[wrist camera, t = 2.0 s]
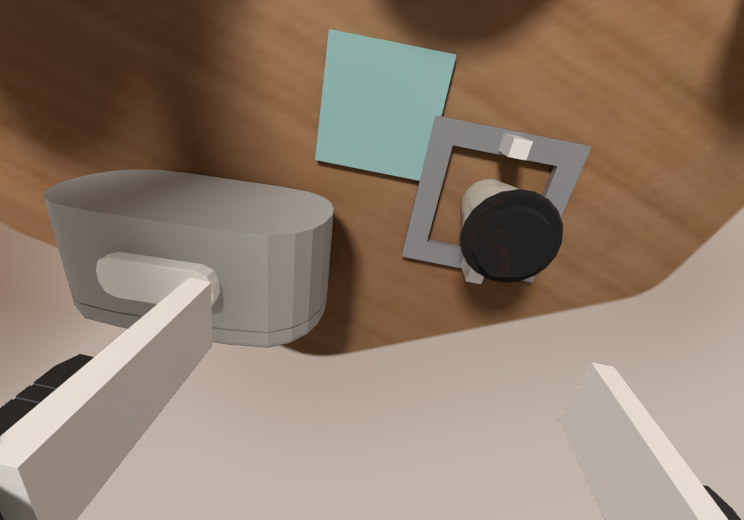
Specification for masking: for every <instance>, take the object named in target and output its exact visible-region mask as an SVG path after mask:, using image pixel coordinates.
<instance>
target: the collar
mask: <svg viewBox="0 0 744 520" xmlns="http://www.w3.org/2000/svg"><path fill="white" fill-rule="evenodd" d="M453 145H454V146H459V147H464V148H469V149H474V150H479V151H484V152H489V153H494V154H499V155H504V156H507V157H511V158H516V159H521V160H529V161H534V162H539V163H544V164H549V165H554V166H553V169H552V171H551V174H550V176H549V179H548V181H547V184H546V186H545V189H544V191H543V194H542V196H544V197H545V198H547V199H549V200H550V201H551V202H552V204H553V205H554V206H555V207H556V208H557V210H558V211H559V214H560V217H561V216H562V214H563V211H564V209H565V207H566V204H567V202H568V200H569V198H570V195H571V193H572V191H573V188H574V186H575V184H576V181H577V179H578V177H579V175H580V172H581V170H582V168H583V165H584V163H585V161H586V159H587V156H588V154H589V152H590V149H591V146H588V145H583V144H578V143H573V142H568V141H563V140H558V139H553V138H548V137H543V136H538V135H533V134H528V133H523V132H518V131H513V130H508V129H503V128H498V127H493V126H488V125H483V124H478V123H473V122H468V121H463V120H458V119H453V118H448V117H443V116H436V115H435V119H434V123H433V127H432V132H431V136H430V140H429V144H428V148H427V152H426V157H425V161H424V165H423V169H422V173H421V178H420V181H419V184H418V188H417V192H416V196H415V200H414V205H413V209H412V213H411V217H410V221H409V226H408V230H407V234H406V238H405V242H404V246H403V251H402V257H407V258H412V259H417V260H422V261H427V262H432V263H437V264H442V265H447V266H452V267H457V268H462V271H463V274H464V277H465V280H466V281H467V282H472V283H477V284H482V281H483V278H484V277H483V276H482V275H480V274H478V273H476V272H475V271H474V270H473V269H472V268H471V267H470V266H469V265H468V264H467V263H466V261H465V258H464V256H463V254H462V252H461V246H460V245H455V244H450V243H445V242H440V241H435V240H430V239H428V236H429V232H430V228H431V225H432V221H433V217H434V214H435V210H436V206H437V202H438V199H439V195H440V191H441V187H442V184H443V180H444V176H445V173H446V169H447V165H448V161H449V158H450V154H451V150H452V146H453ZM535 276H536V275H535ZM535 276H533V277H530V278H527V279H525V280H522V281H526V282H531V283H533V280H534V278H535Z"/></svg>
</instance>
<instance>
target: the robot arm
mask: <svg viewBox="0 0 744 520" xmlns="http://www.w3.org/2000/svg"><path fill="white" fill-rule="evenodd" d="M211 346H212V289H211V282H209V281H204V280H199V279H195V278H190V277H189V278H188V279H187V280H186V281H184V282H183V283H182V284H181V285H180V286H179V287H177V288H176V289H175V290H174V291H173V292H171V293H170V294H169V295H168V296H167V297H165V298H164V299H163V300H162V301H161V302H159V303H158V304H157V305H156V306H155V307H154V308H152V309H151V310H150V311H149V312H148V313H146V314H145V315H144V316H143V317H142V318H140V319H139V320H138V321H137V322H136V323H134V324H133V325H132V326H131V327H130V328H129V329H128V330H126V331H125V332H124V333H123V334H121V335H120V336H119V337H118V338H117V339H115V340H114V341H113V342H112V343H111V344H109V345H108V346H107V347H106V348H105V349H104V350H102V351H101V352H100V353H99V354H98V355H96V356H95V357H91V356H87V355H82V354H79V355H77V356H75V357H73V358H71V359H69V360H67V361H64V362H62V363H60V364H58V365H56V366H54V367H53V368H52V369H50V370H49V371H48V372H46V373H45V374H44V375H43V376H41V377H40V378H39V379H37V380H36V381H35V382H34V384H33V385H32V386H28V387H27V388H26V389H25V390H23V391H22V392H21V393H19V394H18V395H17V396H16V398H15V399H14V400H10V401H9V402H8V403H6V404H5V405H4V406H2V407H1V408H0V520H77V519H78V517H79V516H80V515H81V513H82V512H83V511H84V510H85V508H86V507H87V506H88V504H89V503H90V502H91V501H92V499H93V498H94V497H95V495H96V494H97V493H98V492H99V490H100V489H101V488H102V486H103V485H104V484H105V483H106V481H107V480H108V479H109V477H110V476H111V475H112V474H113V472H114V471H115V470H116V468H117V467H118V466H119V465H120V463H121V462H122V461H123V459H124V458H125V457H126V456H127V454H128V453H129V452H130V450H131V449H132V448H133V447H134V445H135V444H136V442H137V441H138V440H139V439H140V438H141V436H142V435H143V434H144V432H145V431H146V430H147V429H148V427H149V426H150V425H151V423H152V422H153V421H154V420H155V418H156V417H157V416H158V414H159V413H160V412H161V411H162V409H163V408H164V407H165V405H166V404H167V403H168V402H169V400H170V399H171V398H172V396H173V395H174V394H175V393H176V391H177V390H178V389H179V387H180V386H181V385H182V383H183V382H184V381H185V380H186V378H187V377H188V376H189V375H190V373H191V372H192V371H193V369H194V368H195V367H196V366H197V364H198V363H199V362H200V360H201V359H202V358H203V357H204V355H205V354H206V353H207V352H208V350H209V349H210V348H211ZM558 420H559V422H560V424H561V427H562V429H563V431H564V433H565V435H566V437H567V439H568V442H569V444H570V446H571V448H572V450H573V453H574V455H575V457H576V459H577V461H578V463H579V466H580V468H581V470H582V472H583V474H584V477H585V479H586V481H587V483H588V485H589V487H590V489H591V492H592V494H593V496H594V498H595V500H596V502H597V505H598V507H599V509H600V511H601V513H602V516H603V517H604V520H741V519H740V518H739V517H738V516H737V514H736V513H735V511H734V510H733V509H732V508H731V507H730V506H729V505H728V504H727V503H726V502H725V501H724V500H723V499H721V498H720V497H719V496H718V495H717V494H716V493H715V492H714V491H713V490H712V489H711V488H710V487H708V486H704V485H702V484H701V483H700V481H699V480H698V479H697V477H696V476H695V475H694V473H693V472H692V471H691V469H690V468H689V467H688V466H687V464H686V463H685V461H684V460H683V459H682V457H681V456H680V455H679V453H678V452H677V451H676V450H675V448H674V447H673V446H672V444H671V443H670V441H669V440H668V439H667V438H666V436H665V435H664V434H663V432H662V431H661V429H660V428H659V427H658V425H657V424H656V423H655V421H654V420H653V419H652V418H651V416H650V415H649V413H648V412H647V411H646V409H645V408H644V407H643V406H642V404H641V403H640V401H639V400H638V399H637V397H636V396H635V395H634V393H633V392H632V391H631V389H630V388H629V387H628V386H627V384H626V383H625V381H624V380H623V379H622V378H621V376H620V375H619V373H618V372H617V371H616V370H615V368H614V367H611V366H605V365H601V364H596V363H591V364H590V366H589V368H588V369H587V371H586V372H585V374H584V376H583V378H582V379H581V381H580V383H579V384H578V386H577V388H576V389H575V391H574V393H573V394H572V396H571V398H570V399H569V401H568V403H567V405H566V406H565V408H564V410H563V411H562V413H561V415H560V416H559V418H558Z"/></svg>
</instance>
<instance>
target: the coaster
mask: <svg viewBox="0 0 744 520" xmlns="http://www.w3.org/2000/svg"><path fill="white" fill-rule="evenodd" d="M455 59H456V54H451V53H446V52H441V51H436V50H431V49H426V48H421V47H416V46H411V45H406V44H401V43H396V42H391V41H386V40H381V39H376V38H371V37H366V36H361V35H356V34H351V33H346V32H341V31H336V30H331V29H329V35H328V44H327V53H326V63H325V72H324V82H323V91H322V101H321V110H320V119H319V129H318V138H317V148H316V157H315V160H318V161H323V162H328V163H333V164H338V165H343V166H348V167H353V168H358V169H363V170H368V171H373V172H378V173H383V174H388V175H393V176H398V177H403V178H408V179H413V180H418V181H420V178H421V173H422V169H423V165H424V161H425V157H426V152H427V148H428V144H429V140H430V136H431V132H432V127H433V123H434V119H435V115H436V116H442V112H443V108H444V104H445V100H446V96H447V92H448V87H449V83H450V79H451V75H452V71H453V67H454V63H455Z"/></svg>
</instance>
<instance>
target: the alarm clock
mask: <svg viewBox="0 0 744 520" xmlns="http://www.w3.org/2000/svg"><path fill="white" fill-rule="evenodd" d="M43 196H44V200H45V203H46V207H47V210H48V214H49V217H50V221H51V224H52V228H53V231H54V235H55V238H56V241H57V245H58V248H59V252H60V255H61V258H62V262H63V266H64V269H65V273H66V276H67V280H68V282H69V287H70V290H71V293H72V297H73V301H74V304H75V306H76V307H77V308H78V310H79V311H80V312H81V313H82V315H83V316H84V317H85V318H87V319H91V320H95V321H98V322H102V323H106V324H110V325H114V326H118V327H122V328H128V329H129V328H130V327H131V326H132V325H133V324H134V323H136V322H137V321H138V320H139V319H140V318H142V317H143V316H144V315H145V314H146V313H148V312H149V311H150V310H151V309H152V308H154V307H155V306H156V305H157V304H158V303H159V302H161V301H162V300H163V299H164V298H165V297H167V296H168V295H169V294H170V293H171V292H173V291H174V290H175V289H176V288H177V287H179V286H180V285H181V284H182V283H183V282H184V281H186V280H187V279H188V278H189V277H190V278H195V279H199V280H204V281H209V282H211V289H212V342H216V343H222V344H229V345H243V346H256V347H272V346H277V345H282V344H286V343H290V342H292V341H294V340H296V339H298V338H300V337H302V336H304V335H306V334H307V333H308V332H309V331H310V330H312V329H313V328H314V327H315V326H316V325H317V324H318V322H319V320H320V318H321V317H322V315H323V313H324V311H325V306H326V301H327V288H328V276H329V263H330V250H331V238H332V225H333V213H334V208H333V206H332V204H331V202H330V201H328V200H327V199H325V198H324V197H322V196H319V195H316V194H314V193H311V192H307V191H302V190H296V189H291V188H286V187H280V186H274V185H267V184H260V183H253V182H246V181H239V180H233V179H226V178H219V177H212V176H205V175H198V174H192V173H182V172H173V171H164V170H119V171H110V172H103V173H96V174H91V175H86V176H82V177H77V178H73V179H70V180H67V181H64V182H61V183H58V184H56V185H54V186H52V187H50V188H48V189H47V190H46V192H45V193H44V195H43Z"/></svg>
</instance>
